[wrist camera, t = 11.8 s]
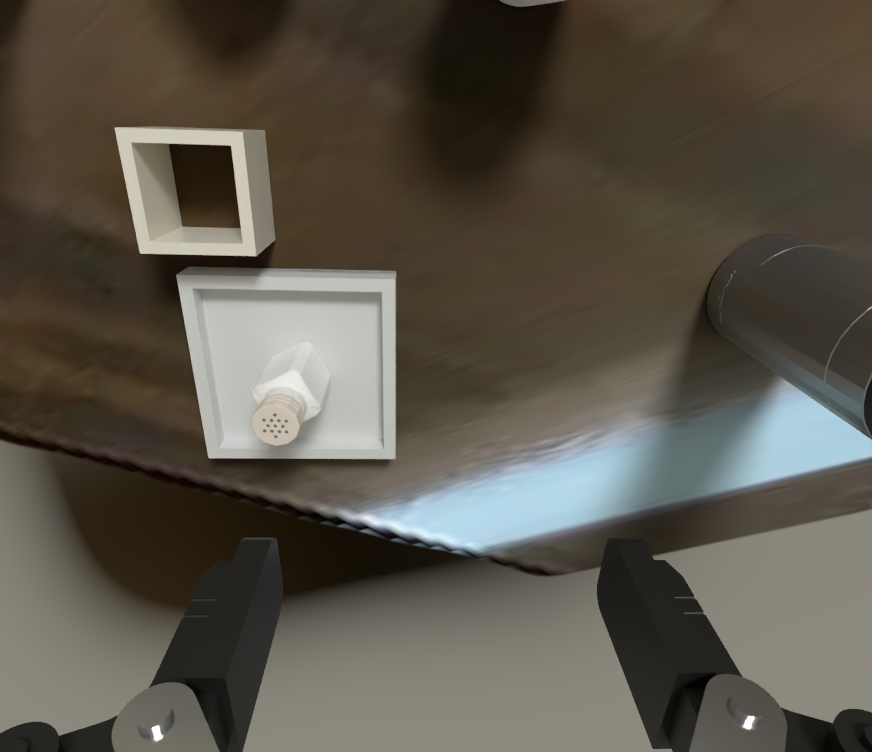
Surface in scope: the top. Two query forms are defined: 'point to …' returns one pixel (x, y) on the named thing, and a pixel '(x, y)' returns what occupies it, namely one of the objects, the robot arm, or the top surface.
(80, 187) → the top surface
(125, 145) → the holder
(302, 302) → the tray
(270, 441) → the pepper shaker
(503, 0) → the cup
